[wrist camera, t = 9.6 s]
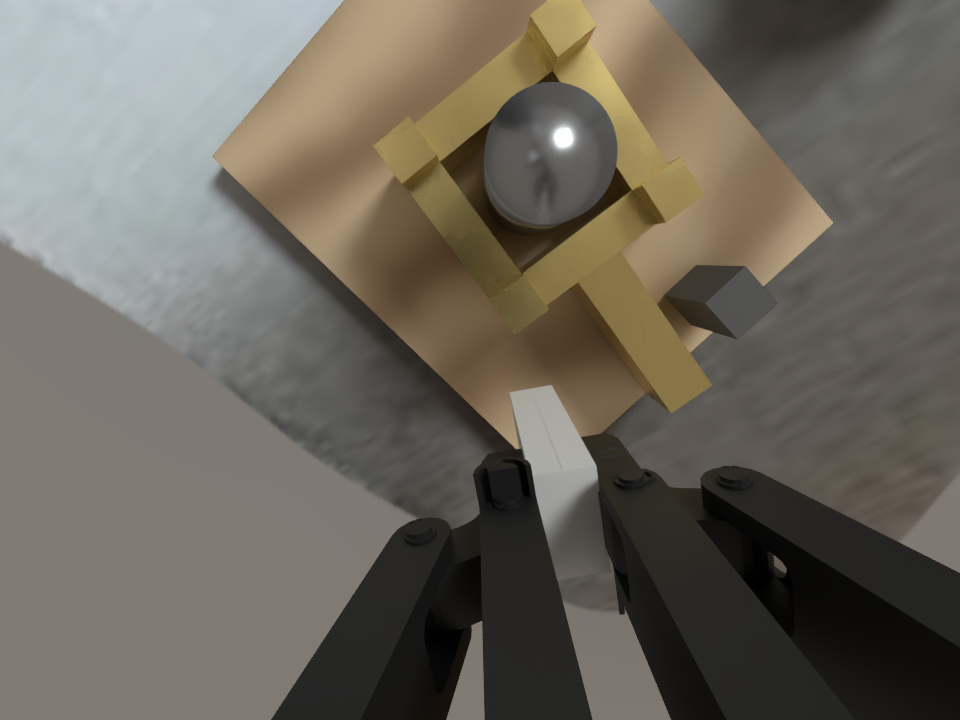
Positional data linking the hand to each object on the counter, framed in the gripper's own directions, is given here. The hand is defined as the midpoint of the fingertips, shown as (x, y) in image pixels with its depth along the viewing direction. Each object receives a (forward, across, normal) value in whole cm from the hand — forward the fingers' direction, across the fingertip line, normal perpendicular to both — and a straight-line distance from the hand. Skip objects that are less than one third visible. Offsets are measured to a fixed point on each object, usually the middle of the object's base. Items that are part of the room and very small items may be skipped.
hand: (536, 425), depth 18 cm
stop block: (+7, +9, +2) cm, 11 cm away
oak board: (+8, +2, +8) cm, 12 cm away
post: (+8, +2, +8) cm, 12 cm away
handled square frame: (+7, +3, +5) cm, 9 cm away
